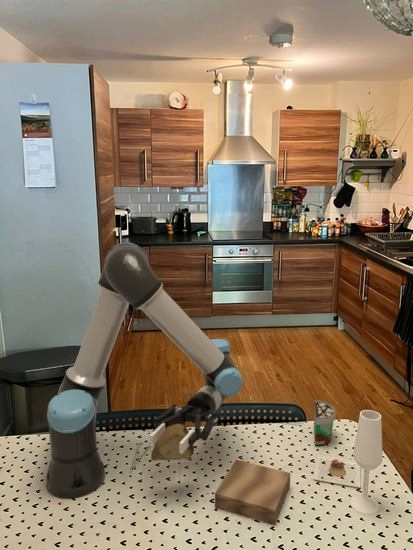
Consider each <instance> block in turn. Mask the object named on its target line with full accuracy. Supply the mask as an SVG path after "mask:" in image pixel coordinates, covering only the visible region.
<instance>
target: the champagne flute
mask: <svg viewBox="0 0 413 550" xmlns="http://www.w3.org/2000/svg"><path fill="white" fill-rule="evenodd" d="M382 428H383V427H382V415H381V414H380V413H379V412H377V411H375V410H371V409H370V410H369V409H365V410H364V409H363V410H361V411H360V413H359V417H358V423H357V430H356V435H355V440H354V446H353V454H352V455H353V460H355V461H356V462H357V464H358V465H359V466H360V469H361V468H362V470H364V471H363V485H362V495H361V494H359V495H354V496H352V498H350V501H349V502H350V505H351V507H352V508H353V509H354V510H356V511H357V512H358V513H362V514H366V515H371V514H372V515H373V514H376V513H377V512H378V511H379V509H380V506H379V503H378V502H377V501H376V500H375V499H373V498H372V497H370V496H368V495H369V494H368V493H369V482H370V481H369V480H370V472H371V471H373V470H375V469H377V468H378V467H379V466H380V465H382V463H383V460H384V459H383V435H382V434H383V433H382V430H383V429H382Z"/></svg>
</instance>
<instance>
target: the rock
mask: <svg viewBox="0 0 413 550" xmlns="http://www.w3.org/2000/svg"><path fill="white" fill-rule="evenodd" d="M189 432H190V430H189V429H188V427H186V425H185V424H182V423H180V424H174V425H171V426H168V427H167V428H166V430H165V432H164V433H163V434H162V436H161V437H160V439H159V440H158V441H157V442H156V443H155V444H154V445H153V449H152V450H151V457H150V458H151V461H152V462H153V461H154V462H156V461H176V460H177V461H179V460H189V459H190V458H191V457H192V456H193V455H194V453H195V447H194V444H193V445H189V447H188V448H187V449H186V450H185V451H184V453H183V454H180V453H179V443H180V442H181V441H182V439H183V438H184V437H185V436H186V435H187V434H188V433H189Z"/></svg>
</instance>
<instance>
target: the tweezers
mask: <svg viewBox="0 0 413 550" xmlns="http://www.w3.org/2000/svg"><path fill="white" fill-rule="evenodd" d="M143 443H144V442H143V441H140V442H137V444H136V449H135V452H134V456H133V460H132V462H131V466H130V469H129V471H130V472H129V473H130V475H131V474H132V472H133V470H134V469H135V467H136V466H137V465H138V463H139V462H140V461H141V459H142V458H143V456H144V455H145V454H146V453H147V451H148V450H149V449H150V448H151V447H152V446H150V442H148V445H147V446H146V448H145V449H144V451H143V452H142V453H141V455H139V457H138V459H137V461H136V462H135V459H136V457H137V455H138V452H139V449H140V446H141V445H143ZM134 463H135V464H134Z"/></svg>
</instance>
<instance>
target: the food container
mask: <svg viewBox="0 0 413 550" xmlns="http://www.w3.org/2000/svg"><path fill="white" fill-rule="evenodd" d="M336 419H337V413H336V410H335V408H334V407H333V405H331V404H330V403H328V402H326V401H322V400H317V399H315V400H314V419H313V420H314V421H313V435H314V436H313V437H314V438H313V439H314V447H324V446H327V445H329V444H330V443H331V441H332V435H333V434H332V433H333V425H334V421H335V420H336Z"/></svg>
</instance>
